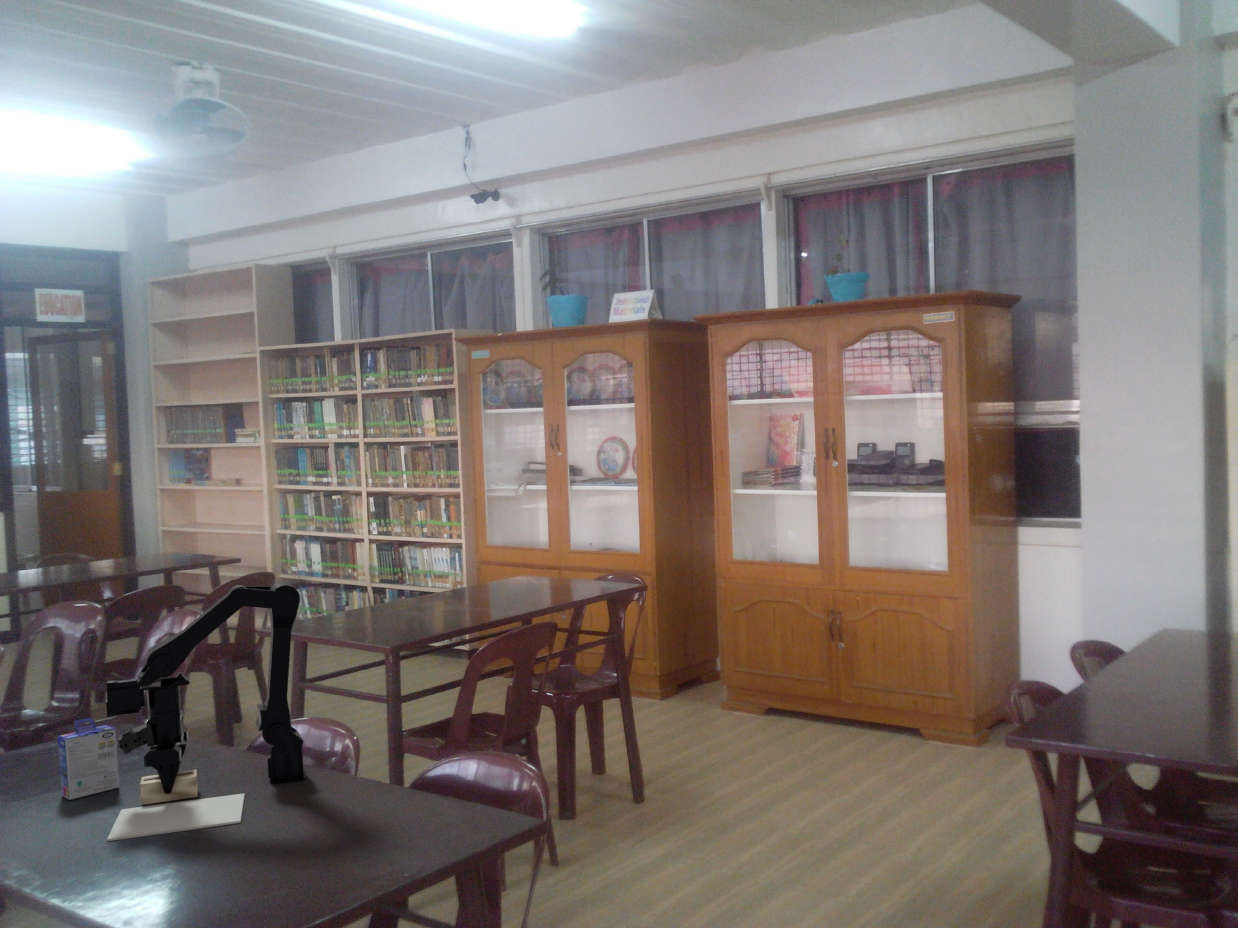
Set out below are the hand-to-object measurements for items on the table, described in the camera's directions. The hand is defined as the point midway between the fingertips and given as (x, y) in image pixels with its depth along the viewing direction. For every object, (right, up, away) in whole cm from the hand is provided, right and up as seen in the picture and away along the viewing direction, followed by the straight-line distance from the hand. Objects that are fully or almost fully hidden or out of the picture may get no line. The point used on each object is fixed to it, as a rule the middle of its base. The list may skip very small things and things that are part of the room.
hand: (169, 788), depth 211 cm
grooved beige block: (0, -2, 0) cm, 2 cm away
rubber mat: (+7, -2, -12) cm, 13 cm away
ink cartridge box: (-18, -3, +6) cm, 20 cm away
